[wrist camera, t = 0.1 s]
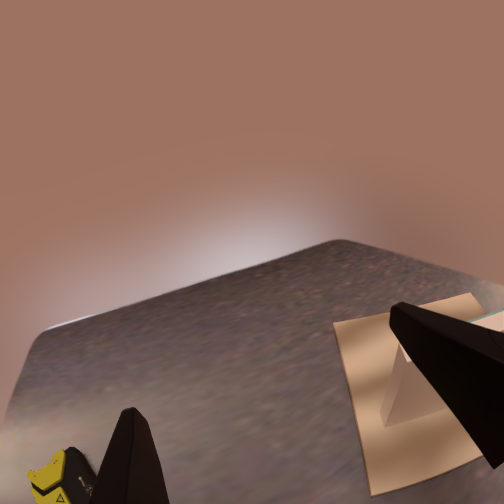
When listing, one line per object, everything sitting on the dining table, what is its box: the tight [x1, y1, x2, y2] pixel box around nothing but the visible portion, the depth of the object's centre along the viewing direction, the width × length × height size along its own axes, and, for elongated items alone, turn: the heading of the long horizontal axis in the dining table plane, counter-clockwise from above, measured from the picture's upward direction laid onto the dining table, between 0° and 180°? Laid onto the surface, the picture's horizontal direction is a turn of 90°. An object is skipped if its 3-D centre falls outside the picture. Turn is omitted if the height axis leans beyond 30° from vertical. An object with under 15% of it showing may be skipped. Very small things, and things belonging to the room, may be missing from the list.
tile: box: [380, 308, 504, 428], centre depth 17 cm, size 2×14×9 cm, turn 91°
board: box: [333, 293, 486, 497], centre depth 22 cm, size 19×18×1 cm
